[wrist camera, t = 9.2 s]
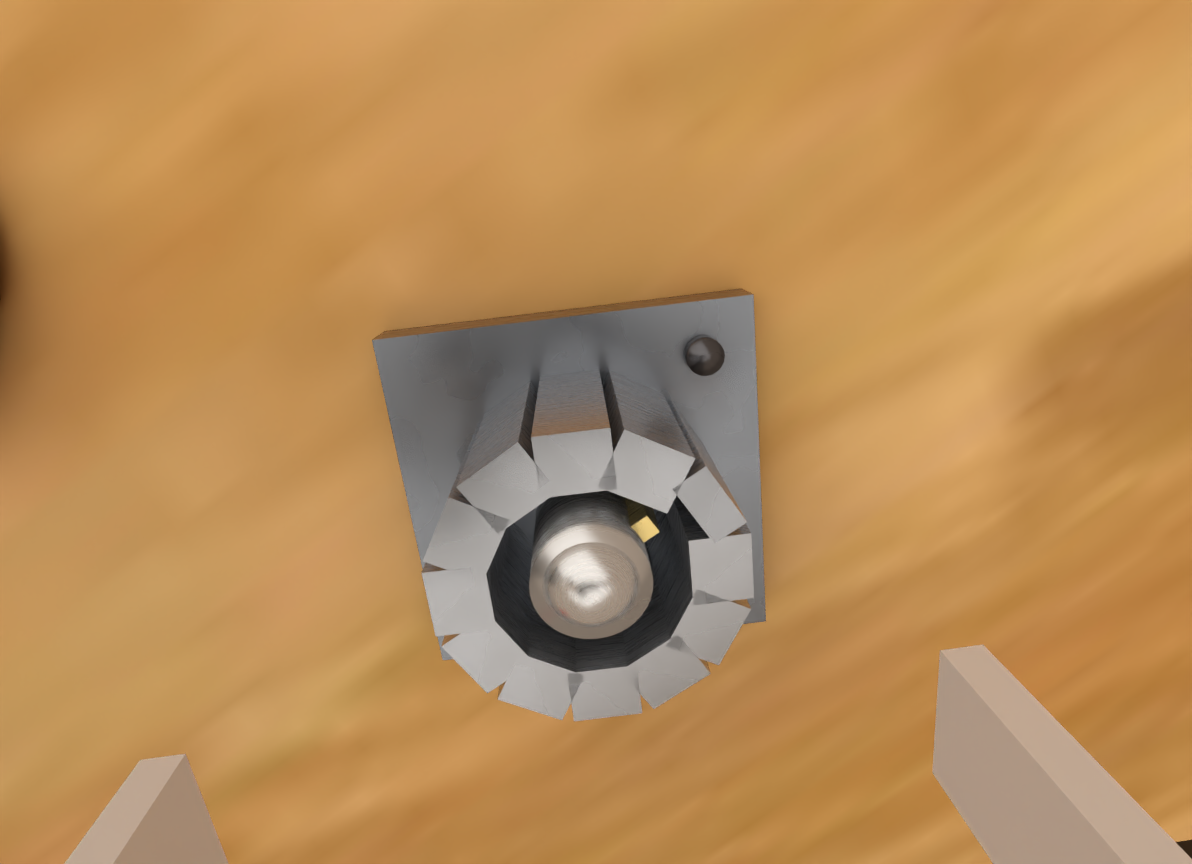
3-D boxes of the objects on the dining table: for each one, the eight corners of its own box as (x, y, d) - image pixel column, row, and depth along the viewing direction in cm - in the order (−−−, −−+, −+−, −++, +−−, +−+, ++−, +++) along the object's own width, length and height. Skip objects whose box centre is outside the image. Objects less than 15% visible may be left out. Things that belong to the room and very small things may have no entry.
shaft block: (449, 635, 27) (401, 814, 19) (383, 331, 23) (289, 398, 15) (755, 598, 27) (832, 762, 19) (741, 288, 23) (832, 333, 15)
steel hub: (482, 612, 25) (457, 735, 19) (439, 388, 22) (395, 453, 16) (714, 584, 25) (758, 699, 19) (699, 356, 22) (746, 411, 16)
